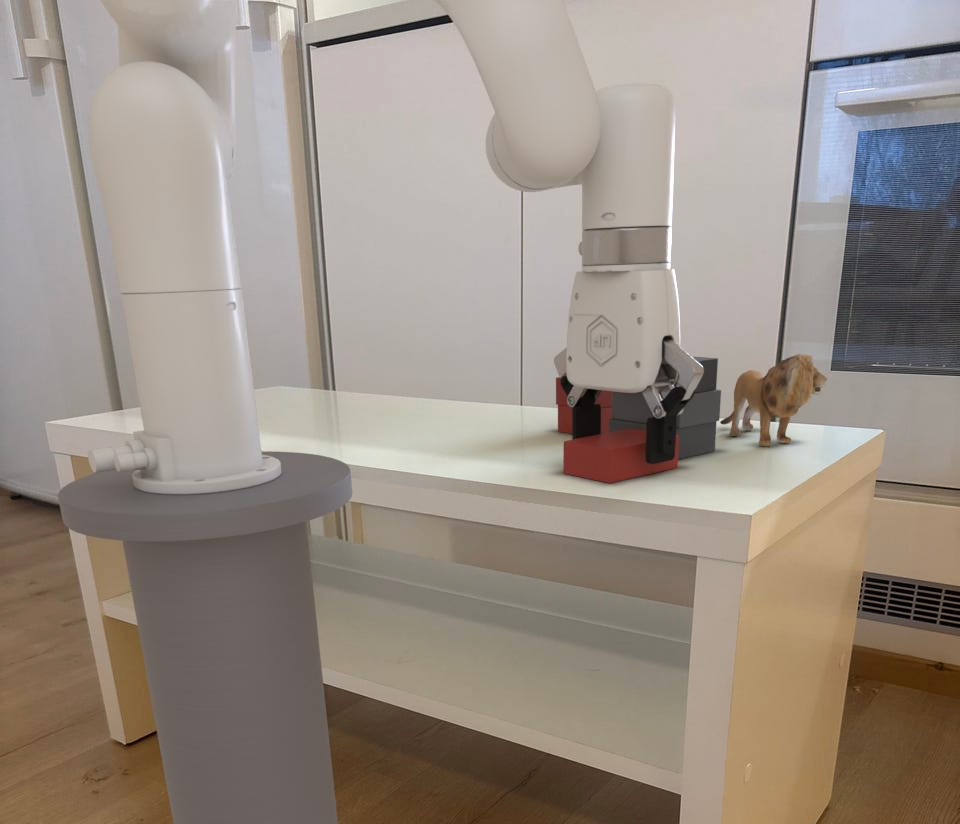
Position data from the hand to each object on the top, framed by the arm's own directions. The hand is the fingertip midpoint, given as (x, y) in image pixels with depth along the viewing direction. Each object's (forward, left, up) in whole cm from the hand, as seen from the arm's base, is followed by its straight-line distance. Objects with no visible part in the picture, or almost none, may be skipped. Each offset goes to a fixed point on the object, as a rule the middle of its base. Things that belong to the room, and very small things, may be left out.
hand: (621, 454), depth 87 cm
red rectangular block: (0, 0, -1) cm, 1 cm away
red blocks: (+15, +17, -1) cm, 23 cm away
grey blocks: (+10, +4, -1) cm, 11 cm away
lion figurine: (+22, 0, -2) cm, 22 cm away
